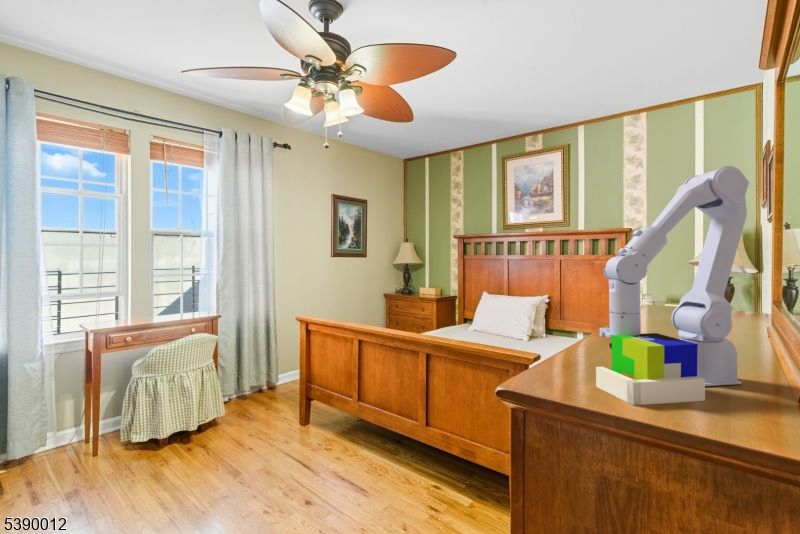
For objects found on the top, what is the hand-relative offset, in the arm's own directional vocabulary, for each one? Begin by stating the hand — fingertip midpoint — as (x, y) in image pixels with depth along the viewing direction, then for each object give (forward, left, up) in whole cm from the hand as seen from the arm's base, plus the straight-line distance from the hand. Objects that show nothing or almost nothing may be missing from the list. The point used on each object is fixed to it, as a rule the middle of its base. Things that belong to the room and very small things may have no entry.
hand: (625, 376), depth 83 cm
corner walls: (+1, +7, -1) cm, 8 cm away
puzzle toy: (-1, +6, -1) cm, 6 cm away
